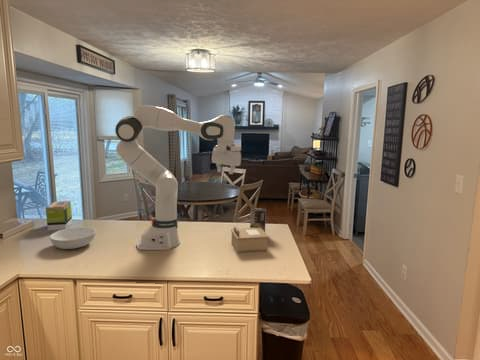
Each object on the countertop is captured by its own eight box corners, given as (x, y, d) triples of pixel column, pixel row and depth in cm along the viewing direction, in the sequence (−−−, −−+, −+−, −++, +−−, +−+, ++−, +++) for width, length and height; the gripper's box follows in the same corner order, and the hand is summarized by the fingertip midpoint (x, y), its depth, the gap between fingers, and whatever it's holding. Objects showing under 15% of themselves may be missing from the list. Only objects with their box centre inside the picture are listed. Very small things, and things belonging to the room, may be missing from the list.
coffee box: (265, 234, 190) (266, 208, 187) (264, 237, 184) (266, 211, 181) (250, 233, 191) (251, 207, 188) (249, 236, 185) (250, 210, 182)
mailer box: (237, 253, 160) (237, 239, 159) (231, 243, 174) (231, 231, 172) (266, 251, 164) (267, 238, 163) (259, 241, 177) (259, 229, 176)
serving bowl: (75, 236, 177) (74, 225, 176) (104, 242, 170) (104, 229, 169) (40, 249, 157) (39, 236, 156) (72, 256, 151) (72, 242, 150)
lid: (236, 239, 158) (237, 233, 158) (230, 230, 173) (230, 224, 172) (268, 237, 162) (269, 232, 162) (260, 228, 177) (260, 223, 176)
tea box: (55, 223, 198) (53, 200, 196) (72, 223, 201) (71, 200, 198) (47, 231, 184) (45, 206, 182) (66, 230, 187) (64, 206, 184)
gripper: (209, 145, 170) (208, 170, 172) (234, 148, 155) (233, 175, 157) (218, 145, 174) (217, 170, 176) (243, 147, 159) (242, 174, 161)
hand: (225, 172), depth 167 cm, fingers open, 8 cm apart
